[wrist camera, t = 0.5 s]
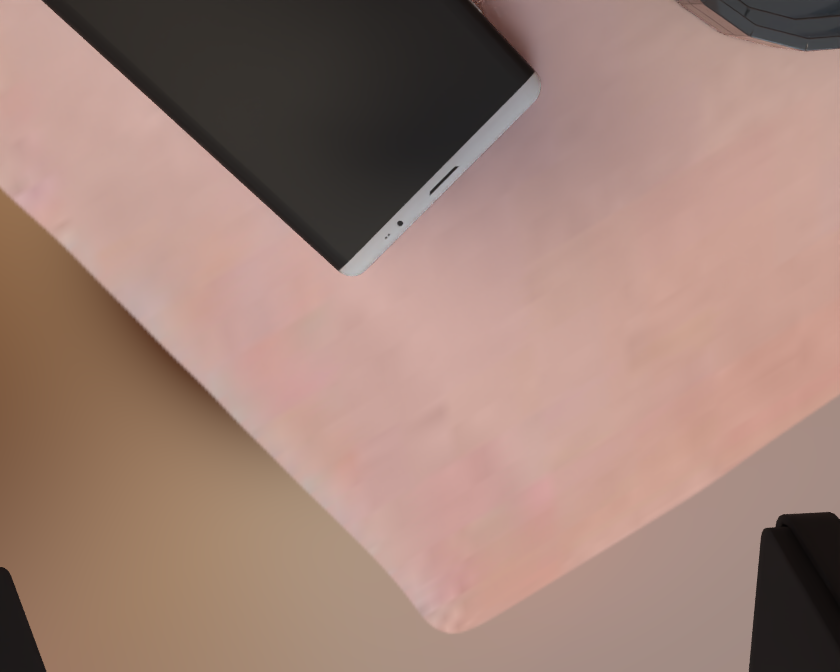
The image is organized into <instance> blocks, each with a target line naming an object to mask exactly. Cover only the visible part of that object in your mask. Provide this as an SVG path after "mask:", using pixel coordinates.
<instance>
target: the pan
mask: <svg viewBox="0 0 840 672" xmlns="http://www.w3.org/2000/svg"><path fill="white" fill-rule="evenodd" d="M677 1H678V3H680V4H681V5H682V6H683V7H684V8H686V9H687V10H689V11H690V12H692V13H693V14H694V15H696V16H697V17H699V18H700V19H701V20H703V21H704V22H706V23H707V24H709V25H710V26H711V27H713V28H714V29H716V30H717V31H719V32H720V33H723V34H724V35H728V36H731V37H735V38H739V39H743V40H747V41H751V42H755V43H758V44H762V45H766V46H770V47H776V48H784V49H792V50H799V51H817V50H829V49H840V0H677Z"/></svg>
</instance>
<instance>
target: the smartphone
mask: <svg viewBox="0 0 840 672" xmlns="http://www.w3.org/2000/svg"><path fill="white" fill-rule="evenodd" d="M42 1H43V2H44V3H45V4H46V5H48V6H49V7H50V8H51V9H52V10H53V11H54V12H55V13H56V14H57V15H59V16H60V17H61V18H62V19H63V20H64V21H65V22H66V23H67V24H68V25H69V26H71V27H72V28H73V29H74V30H75V31H76V32H77V33H78V34H79V35H80V36H82V37H83V38H84V39H85V40H86V41H87V42H88V43H89V44H90V45H91V46H92V47H94V48H95V49H96V50H97V51H98V52H99V53H100V54H101V55H102V56H103V57H105V58H106V59H107V60H108V61H109V62H110V63H111V64H112V65H113V66H114V67H115V68H117V69H118V70H119V71H120V72H121V73H122V74H123V75H124V76H125V77H126V78H128V79H129V80H130V81H131V82H132V83H133V84H134V85H135V86H136V87H137V88H138V89H140V90H141V91H142V92H143V93H144V94H145V95H146V96H147V97H148V98H149V99H151V100H152V101H153V102H154V103H155V104H156V105H157V106H158V107H159V108H160V109H162V110H163V111H164V112H165V113H166V114H167V115H168V116H169V117H170V118H171V119H172V120H174V121H175V122H176V123H177V124H178V125H179V126H180V127H181V128H182V129H183V130H185V131H186V132H187V133H188V134H189V135H190V136H191V137H192V138H193V139H194V140H195V141H197V142H198V143H199V144H200V145H201V146H202V147H203V148H204V149H205V150H206V151H208V152H209V153H210V154H211V155H212V156H213V157H214V158H215V159H216V160H217V161H218V162H220V163H221V164H222V165H223V166H224V167H225V168H226V169H227V170H228V171H229V172H231V173H232V174H233V175H234V176H235V177H236V178H237V179H238V180H239V181H240V182H241V183H243V184H244V185H245V186H246V187H247V188H248V189H249V190H250V191H251V192H252V193H254V194H255V195H256V196H257V197H258V198H259V199H260V200H261V201H262V202H263V203H264V204H266V205H267V206H268V207H269V208H270V209H271V210H272V211H273V212H274V213H275V214H277V215H278V216H279V217H280V218H281V219H282V220H283V221H284V222H285V223H286V224H288V225H289V226H290V227H291V228H292V229H293V230H294V231H295V232H296V233H297V234H298V235H300V236H301V237H302V238H303V239H304V240H305V241H306V242H307V243H308V244H309V245H311V246H312V247H313V248H314V249H315V250H316V251H317V252H318V253H319V254H320V255H321V256H323V257H324V258H325V259H326V260H327V261H328V262H329V263H330V264H331V265H332V266H334V267H335V268H336V269H337V270H338V271H339V272H340V273H342V274H344V275H347V276H357V275H360V274H362V273H363V272H364V271H366V270H367V269H368V268H369V267H370V266H371V265H372V264H373V263H374V262H375V261H376V260H377V259H378V258H379V257H380V256H381V255H382V254H383V253H384V252H385V251H386V250H387V249H388V248H389V247H390V246H391V245H392V244H393V243H394V242H395V241H396V240H397V239H398V238H399V237H400V236H401V235H402V234H403V233H404V232H405V231H406V230H407V229H408V228H409V227H410V226H411V225H412V224H413V223H414V222H415V221H416V220H417V219H418V218H419V217H420V216H421V215H422V214H423V213H424V212H425V211H426V210H427V209H428V208H429V207H430V206H431V205H432V204H433V203H434V202H435V201H436V200H437V199H438V198H439V197H440V196H441V195H442V194H443V193H444V192H445V191H446V190H447V189H448V188H449V187H450V186H451V185H452V184H453V183H454V182H455V181H456V180H457V179H458V178H459V177H460V176H461V175H462V174H463V173H464V172H465V171H466V170H467V169H468V168H469V167H470V166H471V165H472V164H473V163H474V162H475V161H476V160H477V159H478V158H479V157H480V156H481V155H482V154H483V153H484V152H485V151H486V150H487V149H488V148H489V147H490V146H491V145H492V144H493V143H494V142H495V141H496V140H497V139H498V138H499V137H500V136H501V135H502V134H503V133H504V132H505V131H506V130H507V129H508V128H509V127H510V126H511V125H512V124H513V123H514V122H515V121H516V120H517V119H518V118H519V117H520V116H521V115H522V114H523V113H524V112H525V111H526V110H527V109H528V108H529V107H530V106H531V105H532V104H533V103H534V102H535V101H536V99H537V98H538V96H539V93H540V89H541V83H540V79H539V76H538V74H537V73H536V72H535V71H534V69H533V68H532V67H531V66H530V65H529V64H528V63H527V62H526V61H525V60H524V59H523V58H522V57H521V55H520V54H519V53H518V52H517V51H516V50H515V49H514V48H513V47H512V46H511V45H510V44H509V42H508V41H507V40H506V39H505V38H504V37H503V36H502V35H501V34H500V33H499V32H498V31H497V30H496V28H495V27H494V26H493V25H492V24H491V23H490V22H489V21H488V20H487V19H486V18H485V17H484V15H483V14H482V13H483V12H482V11H481V10H480V9H479V8H478V7H477V6H476V5H475V4H474V3H473V2H472V1H471V0H42Z"/></svg>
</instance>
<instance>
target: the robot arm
mask: <svg viewBox="0 0 840 672" xmlns="http://www.w3.org/2000/svg"><path fill="white" fill-rule="evenodd" d="M0 672H46V669H45V666H44V664H43V661H42V658H41V656H40V653H39V650H38V648H37V645H36V642H35V639H34V637H33V634H32V631H31V629H30V626H29V623H28V621H27V618H26V615H25V612H24V610H23V607H22V604H21V602H20V599H19V596H18V594H17V591H16V588H15V585H14V583H13V580H12V577H11V575H10V573H9V571H8V570H6V569H5V568H3V567H0ZM749 672H840V519H839V518H838V517H837V516H836V515H835V514H833V513H831V512H822V513H803V514H783V515H781V516H779V518H778V520H777V522H776V527H774V528H765V529H764V530H763V532H762V535H761V543H760V555H759V566H758V577H757V588H756V598H755V610H754V620H753V632H752V642H751V654H750V664H749Z"/></svg>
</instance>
